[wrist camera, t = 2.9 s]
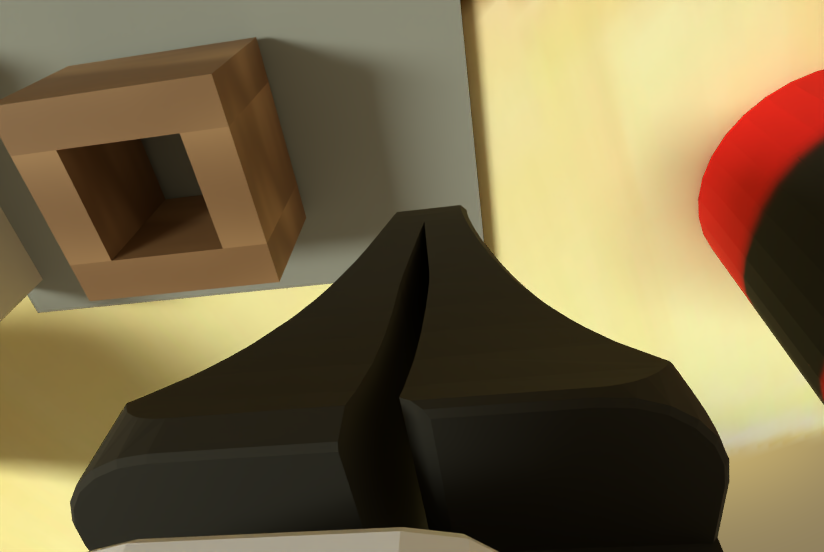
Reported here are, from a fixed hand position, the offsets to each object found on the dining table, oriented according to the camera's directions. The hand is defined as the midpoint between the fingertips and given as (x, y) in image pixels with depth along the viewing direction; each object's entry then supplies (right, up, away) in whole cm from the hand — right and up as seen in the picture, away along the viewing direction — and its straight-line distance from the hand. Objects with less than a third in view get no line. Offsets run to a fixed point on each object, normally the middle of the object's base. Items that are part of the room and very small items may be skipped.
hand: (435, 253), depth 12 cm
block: (-7, +4, +8) cm, 12 cm away
